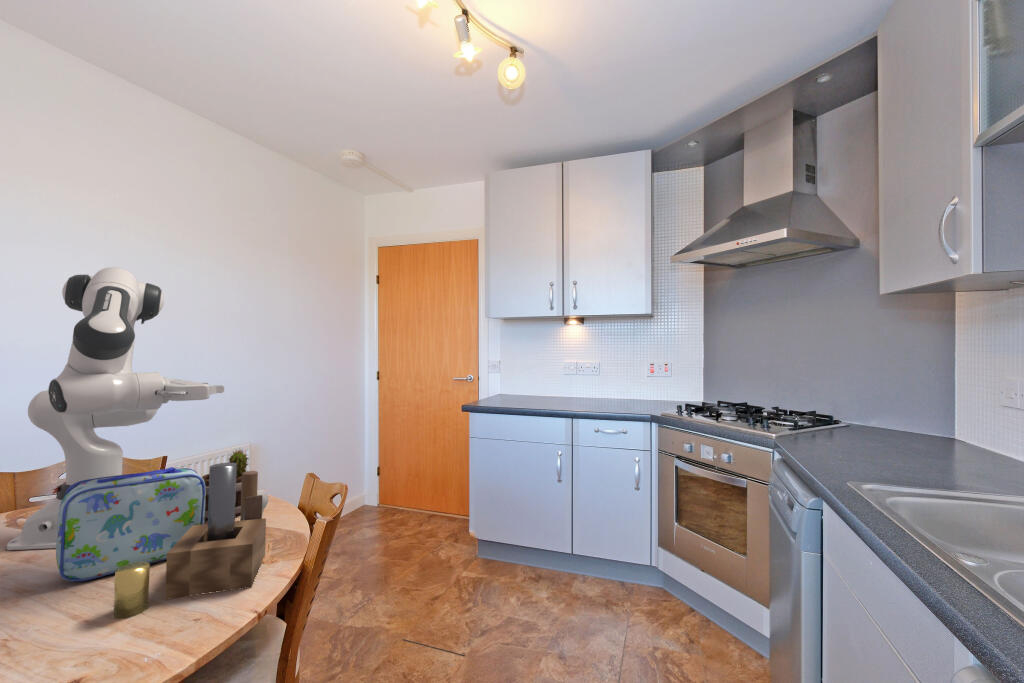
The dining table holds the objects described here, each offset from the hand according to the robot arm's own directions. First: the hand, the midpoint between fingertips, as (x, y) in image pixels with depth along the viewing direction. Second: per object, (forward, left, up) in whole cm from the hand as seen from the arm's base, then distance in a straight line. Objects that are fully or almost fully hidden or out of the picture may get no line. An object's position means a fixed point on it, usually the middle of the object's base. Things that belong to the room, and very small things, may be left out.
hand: (215, 387), depth 116 cm
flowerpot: (-2, +20, -40) cm, 45 cm away
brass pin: (-5, -31, -40) cm, 51 cm away
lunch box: (-13, -8, -40) cm, 43 cm away
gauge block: (+7, -21, -40) cm, 45 cm away
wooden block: (+10, -7, -40) cm, 42 cm away
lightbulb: (+9, +5, -40) cm, 41 cm away
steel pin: (+7, -21, -40) cm, 46 cm away
